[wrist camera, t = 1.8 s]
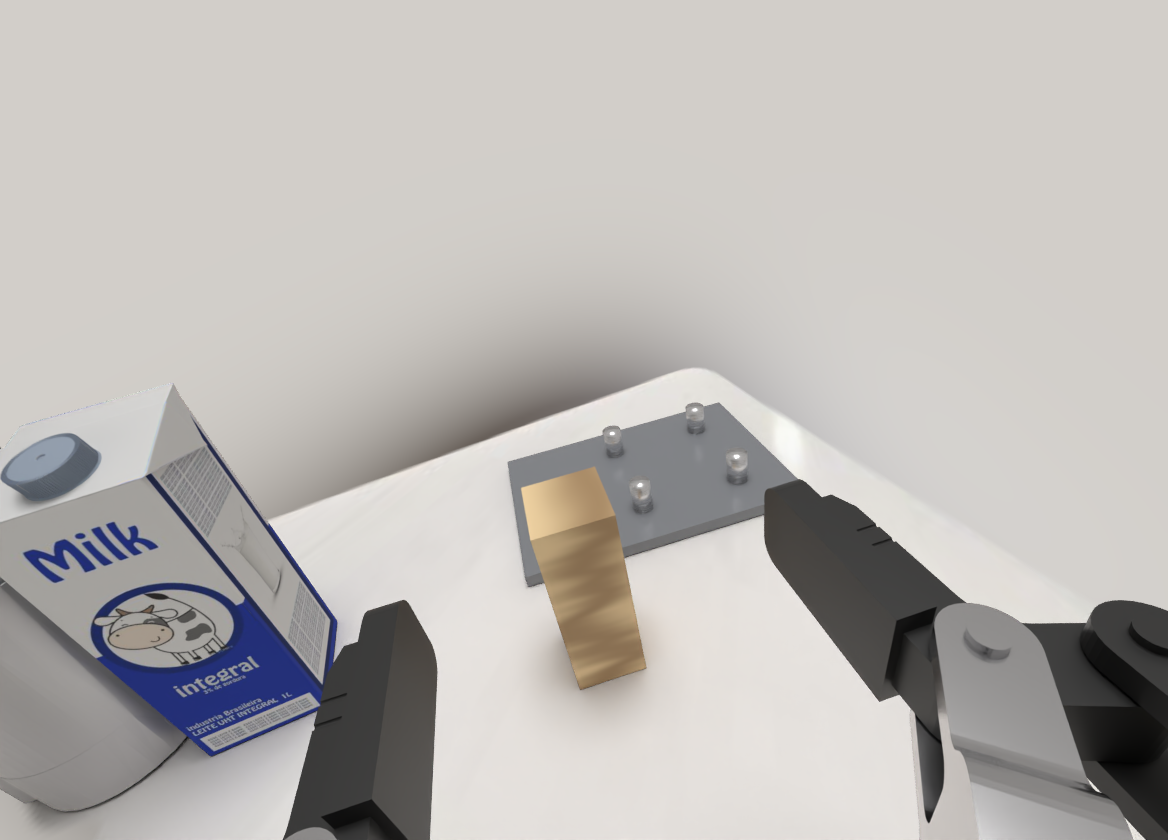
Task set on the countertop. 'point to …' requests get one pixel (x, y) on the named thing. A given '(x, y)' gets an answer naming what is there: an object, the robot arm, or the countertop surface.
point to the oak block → (585, 575)
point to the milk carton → (163, 567)
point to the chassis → (661, 478)
